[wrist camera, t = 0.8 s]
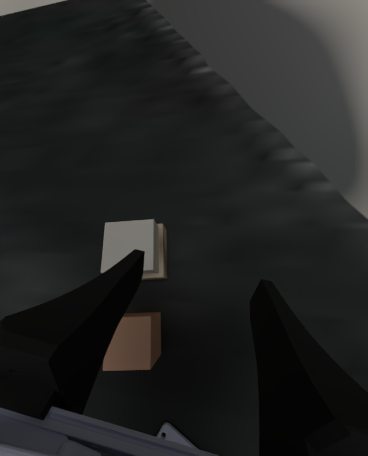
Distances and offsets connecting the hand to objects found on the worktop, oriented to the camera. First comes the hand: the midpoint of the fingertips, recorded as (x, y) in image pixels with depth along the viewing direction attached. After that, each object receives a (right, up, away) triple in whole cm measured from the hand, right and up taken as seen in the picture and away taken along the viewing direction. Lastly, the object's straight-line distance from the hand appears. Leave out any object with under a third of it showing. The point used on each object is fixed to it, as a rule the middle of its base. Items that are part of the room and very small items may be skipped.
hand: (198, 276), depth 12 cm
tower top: (-7, 0, +12) cm, 14 cm away
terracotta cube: (-6, -9, +12) cm, 16 cm away
